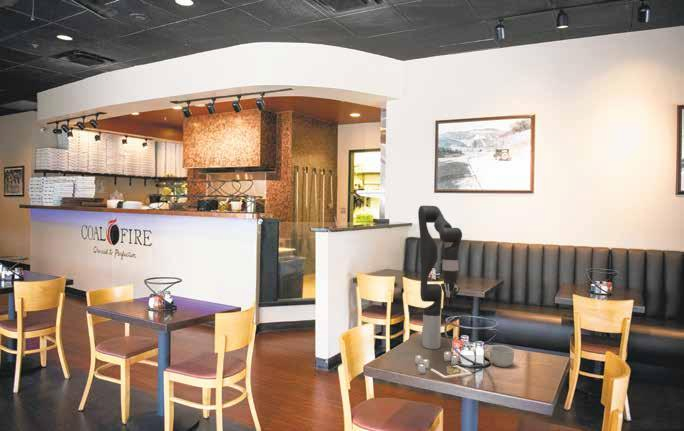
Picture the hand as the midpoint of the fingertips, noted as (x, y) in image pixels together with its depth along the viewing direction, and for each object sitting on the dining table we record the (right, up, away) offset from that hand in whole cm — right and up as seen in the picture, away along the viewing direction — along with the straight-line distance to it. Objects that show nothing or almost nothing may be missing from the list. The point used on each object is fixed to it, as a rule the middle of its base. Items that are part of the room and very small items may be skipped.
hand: (449, 304), depth 233 cm
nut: (-2, -28, -17) cm, 32 cm away
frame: (-3, -27, -16) cm, 32 cm away
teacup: (+22, -28, -6) cm, 36 cm away
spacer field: (-6, -27, -8) cm, 29 cm away
